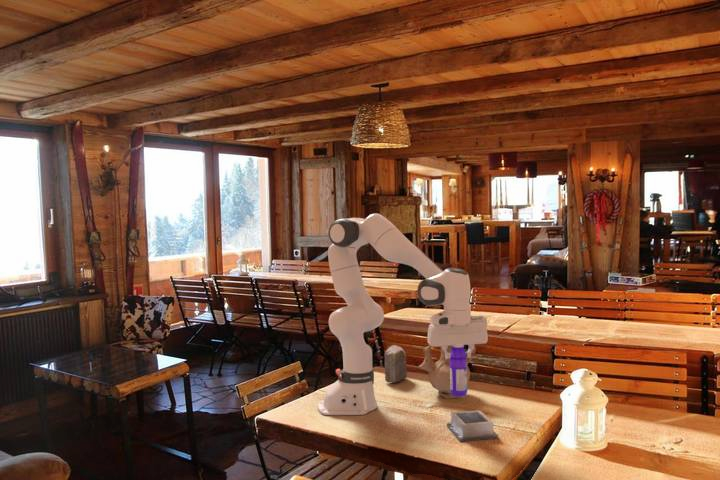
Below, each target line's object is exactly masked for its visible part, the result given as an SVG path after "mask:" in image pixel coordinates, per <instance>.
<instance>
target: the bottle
mask: <svg viewBox="0 0 720 480" xmlns="http://www.w3.org/2000/svg"><path fill="white" fill-rule="evenodd" d="M465 352H466V351H465V345H463V344H456V345H454V346H452V349H451V353H450V354H451V356H450V357H451V359H450V391H451V394H452V395H454V396H459V397H465V396H466V395H467V393H468V384H467V371H466V367H467V365H468V364H467V362H466V356H467V355H466V353H465Z"/></svg>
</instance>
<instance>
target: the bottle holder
mask: <svg viewBox="0 0 720 480" xmlns="http://www.w3.org/2000/svg"><path fill="white" fill-rule="evenodd" d="M446 428H447V429H448V430H449V431H450V432H451V434H452V435H453V436H454V437H455V438H456V439H457V440H458V442H459V443H462V442H472V441H484V440H496V438H497V439H499V435H498V434H497V433H496V432H495V431H494V421H492V420H491V419H490V418H489V417H488V416H487V415H486V414H485V413H484V412H483V411H482V410H480V409H479V410H467V411H465V410H464V411H456V412H455V411H453V412H451V413H450V422H449V423H446Z"/></svg>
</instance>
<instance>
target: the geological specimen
mask: <svg viewBox="0 0 720 480" xmlns="http://www.w3.org/2000/svg"><path fill="white" fill-rule="evenodd" d="M383 355H384V378H385V382H386V383H390V384H391V383H393V384H394V383H397V382H400V381H403V380H404V379H406V378H407V377H408V375H407V373H408V372H407V359H406V358H407V354H406V352H405V350H404V349H403V348H402V347H401V346H398V345H396V344H392V345H390V346H388V347H387V349H386V350H385V351H384V354H383Z"/></svg>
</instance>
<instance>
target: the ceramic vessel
mask: <svg viewBox="0 0 720 480" xmlns="http://www.w3.org/2000/svg"><path fill="white" fill-rule="evenodd" d="M476 346H477V344H474V349H473V350H472V352H471V358H466V362H467V367H466V371H467V385H468V384H469V381H470V376H471V372H470V371H471V370H470V368H469V365H468V364H469V363H471V361H472V360H473V358H474V356H475V355H476V350H477V347H476ZM431 349H432V346H430V345H429V344H428V346H427V347H423V349H422V354H423V355H424V360H423V362H422V363H421V364H419V365H418V368H417V369H421V370H424V371H427V372H428V379H429V383H430V385H431V387H433V388H434V389H435V390H437V393H438V395H439V396H441V397H442V398H445V399H456V398H460V396H454V395H452V394H451V391H450V359H446V358H445V353H444V351H443V349H442V346H440V358H439V360H437V361H434V359H433V358H432V351H431ZM451 349H452V346H448V349H446V350H447V352H448V353H451Z"/></svg>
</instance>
